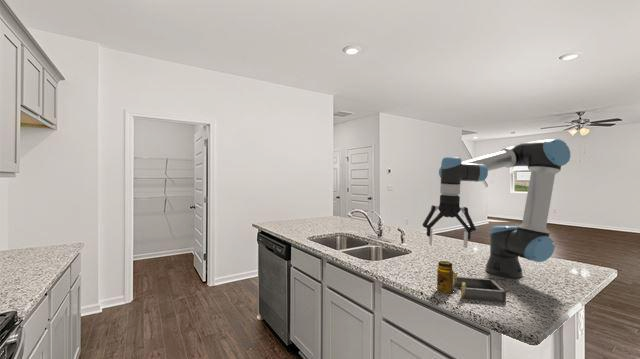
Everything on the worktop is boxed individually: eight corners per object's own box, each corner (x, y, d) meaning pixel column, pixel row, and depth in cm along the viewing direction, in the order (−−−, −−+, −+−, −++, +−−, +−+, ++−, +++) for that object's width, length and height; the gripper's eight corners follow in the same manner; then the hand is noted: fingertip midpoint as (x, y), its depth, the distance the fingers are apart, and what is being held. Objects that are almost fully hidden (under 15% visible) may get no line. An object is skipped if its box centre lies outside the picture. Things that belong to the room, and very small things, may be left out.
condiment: (433, 291, 117) (433, 262, 117) (440, 285, 124) (440, 258, 124) (452, 296, 113) (452, 266, 112) (458, 290, 119) (458, 261, 119)
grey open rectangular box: (491, 288, 121) (492, 274, 121) (506, 302, 107) (506, 287, 107) (452, 285, 124) (452, 271, 124) (461, 298, 111) (461, 283, 110)
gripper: (479, 195, 119) (477, 246, 120) (417, 192, 125) (415, 241, 125) (486, 196, 112) (483, 250, 112) (419, 193, 117) (417, 245, 118)
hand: (447, 245), depth 119 cm, fingers open, 13 cm apart
